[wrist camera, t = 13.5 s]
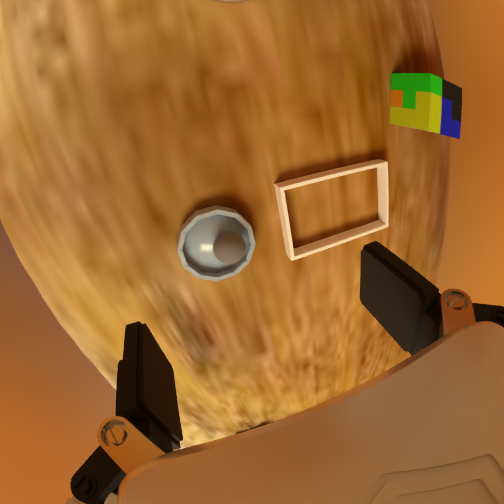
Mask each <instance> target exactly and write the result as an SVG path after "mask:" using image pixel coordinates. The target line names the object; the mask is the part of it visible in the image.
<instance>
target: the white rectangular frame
mask: <svg viewBox="0 0 504 504" xmlns="http://www.w3.org/2000/svg"><path fill="white" fill-rule="evenodd" d="M376 167H377V176H378V220H377V221H374V222H371V223H368V224H365V225H362V226H360V227H357V228H354V229H351V230H348V231H345V232H342V233H339V234H336V235H333V236H330V237H327V238H324V239H321V240H318V241H315V242H312V243H309V244H306V245H303V246H300V247H297V248H294V249H293V243H292V237H291V230H290V224H289V217H288V211H287V205H286V199H285V193H284V190H288V189H292V188H295V187H299V186H303V185H307V184H310V183H314V182H318V181H322V180H326V179H330V178H334V177H338V176H342V175H346V174H350V173H355V172H359V171H363V170H367V169H372V168H376ZM274 186H275V191H276V197H277V202H278V208H279V214H280V219H281V225H282V231H283V237H284V243H285V249H286V254H287V256H288V257H289V258H290V259H291V261H293V260H296V259H298V258H301V257H304V256H307V255H310V254H313V253H316V252H319V251H322V250H324V249H327V248H330V247H333V246H336V245H339V244H341V243H344V242H347V241H350V240H353V239H355V238H358V237H361V236H364V235H367V234H369V233H372V232H375V231H378V230H380V229H383V228H386V227H388V162H387V161H384V160H381V159H376V160H372V161H367V162H362V163H358V164H353V165H348V166H344V167H340V168H335V169H331V170H327V171H323V172H318V173H314V174H310V175H306V176H302V177H298V178H294V179H291V180H287V181H283V182H279V183H275V184H274Z"/></svg>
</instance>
